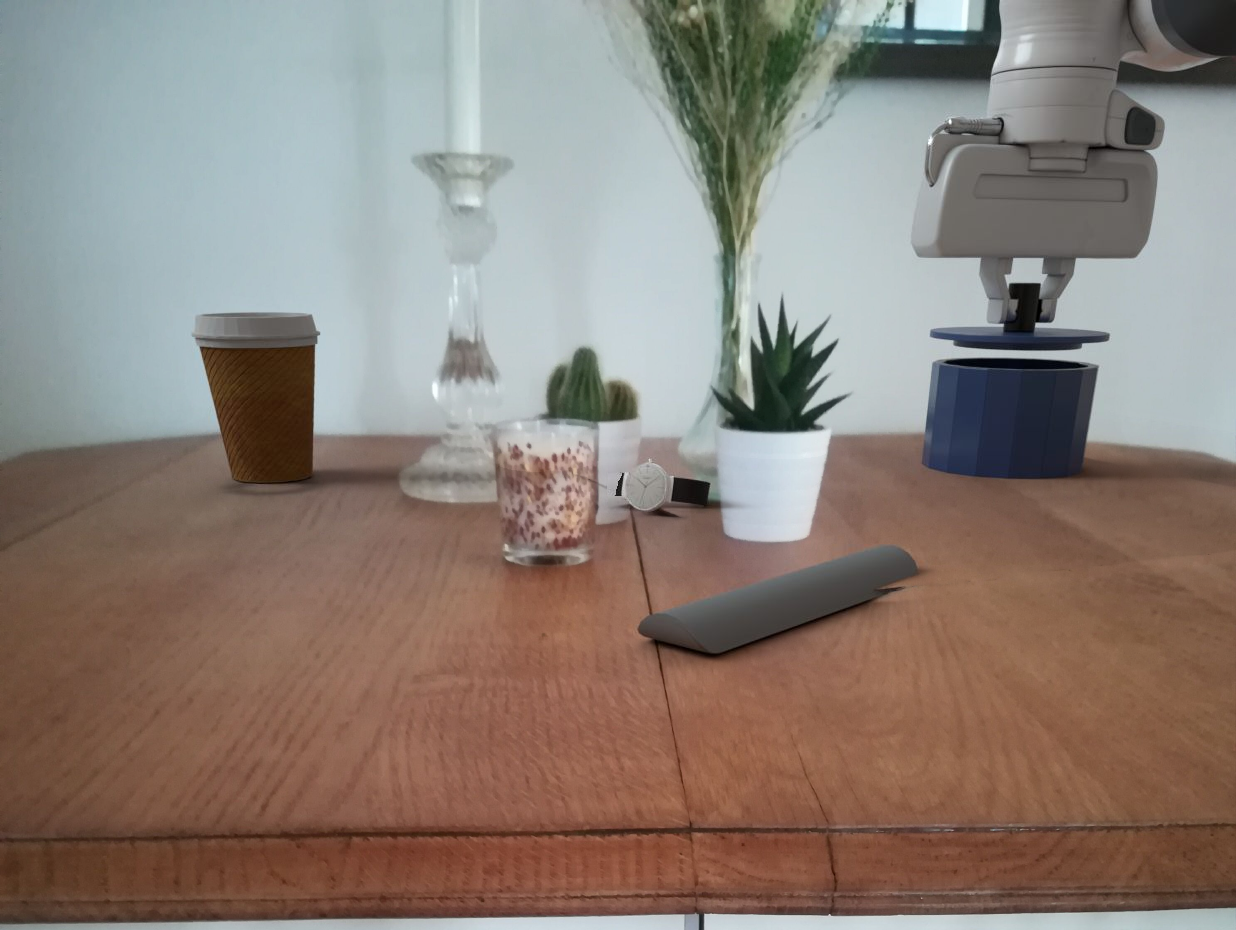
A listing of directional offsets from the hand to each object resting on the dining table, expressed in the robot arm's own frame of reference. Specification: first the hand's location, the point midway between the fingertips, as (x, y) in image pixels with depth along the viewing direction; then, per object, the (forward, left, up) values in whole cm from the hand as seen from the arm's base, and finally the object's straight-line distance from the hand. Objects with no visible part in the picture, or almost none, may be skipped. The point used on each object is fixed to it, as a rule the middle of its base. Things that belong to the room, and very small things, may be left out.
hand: (1020, 323), depth 96 cm
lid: (0, 0, -1) cm, 1 cm away
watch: (+33, +4, -12) cm, 35 cm away
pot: (0, 0, -12) cm, 12 cm away
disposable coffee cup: (+56, -20, -12) cm, 61 cm away
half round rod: (+38, +31, -12) cm, 50 cm away
